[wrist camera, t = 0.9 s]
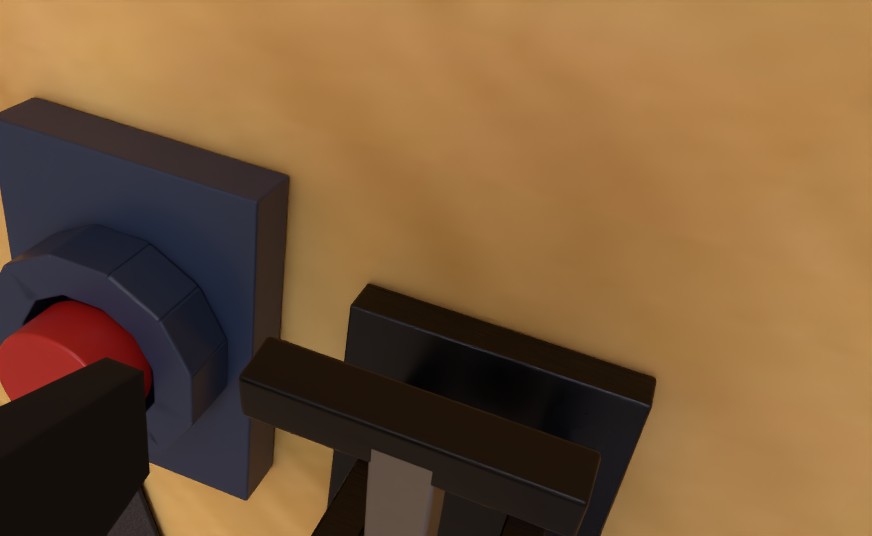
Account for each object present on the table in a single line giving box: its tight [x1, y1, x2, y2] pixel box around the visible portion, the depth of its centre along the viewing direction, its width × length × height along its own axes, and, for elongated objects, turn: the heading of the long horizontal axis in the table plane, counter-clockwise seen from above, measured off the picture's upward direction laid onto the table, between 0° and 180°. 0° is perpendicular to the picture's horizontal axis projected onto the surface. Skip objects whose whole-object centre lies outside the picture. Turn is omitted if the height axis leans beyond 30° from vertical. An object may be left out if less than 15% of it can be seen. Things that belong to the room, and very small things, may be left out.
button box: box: [0, 98, 289, 501], centre depth 24 cm, size 11×8×4 cm
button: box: [0, 300, 152, 401], centre depth 22 cm, size 4×4×2 cm
